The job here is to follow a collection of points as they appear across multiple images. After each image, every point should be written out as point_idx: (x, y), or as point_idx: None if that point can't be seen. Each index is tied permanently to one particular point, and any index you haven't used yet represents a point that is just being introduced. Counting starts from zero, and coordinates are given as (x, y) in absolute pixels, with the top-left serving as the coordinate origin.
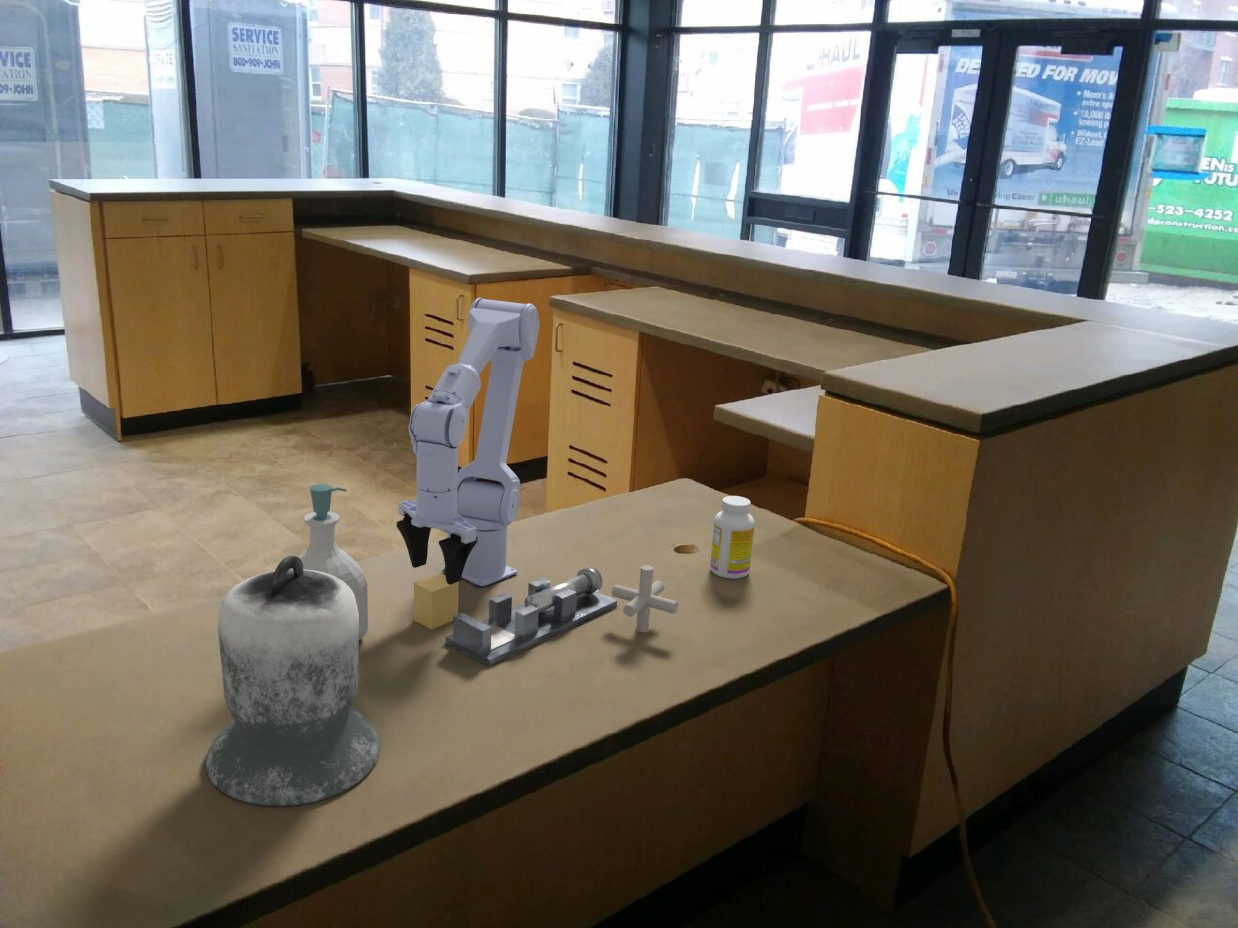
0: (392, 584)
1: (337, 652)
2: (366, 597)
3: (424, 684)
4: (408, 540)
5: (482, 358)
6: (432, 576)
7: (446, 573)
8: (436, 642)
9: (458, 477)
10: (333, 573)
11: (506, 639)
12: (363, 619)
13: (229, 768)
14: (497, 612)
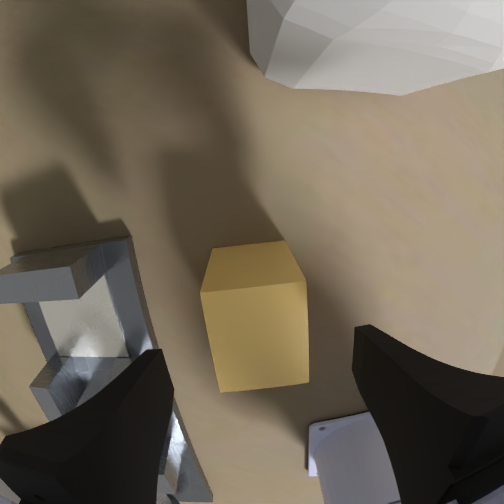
0: (448, 295)
1: None
2: (271, 36)
3: (24, 107)
4: (427, 381)
5: None
6: (307, 355)
7: (139, 369)
8: (146, 219)
9: None
10: None
11: (57, 333)
12: (254, 45)
13: None
14: (107, 378)
